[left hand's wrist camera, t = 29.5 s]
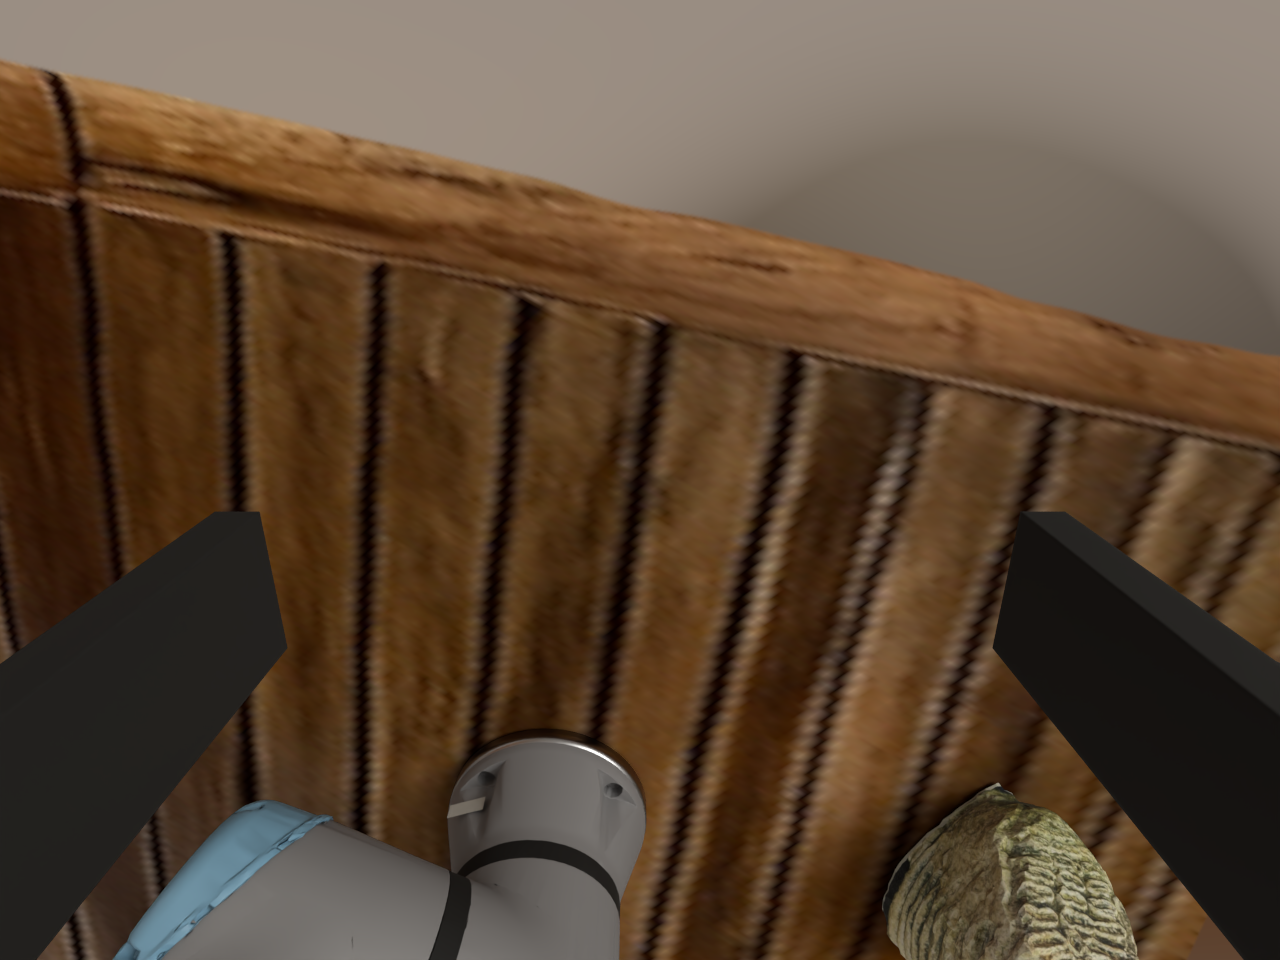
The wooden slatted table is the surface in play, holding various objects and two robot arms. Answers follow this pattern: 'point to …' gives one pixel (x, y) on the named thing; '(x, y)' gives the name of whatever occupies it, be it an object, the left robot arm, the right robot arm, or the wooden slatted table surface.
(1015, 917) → the fossil
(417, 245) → the wooden slatted table surface
